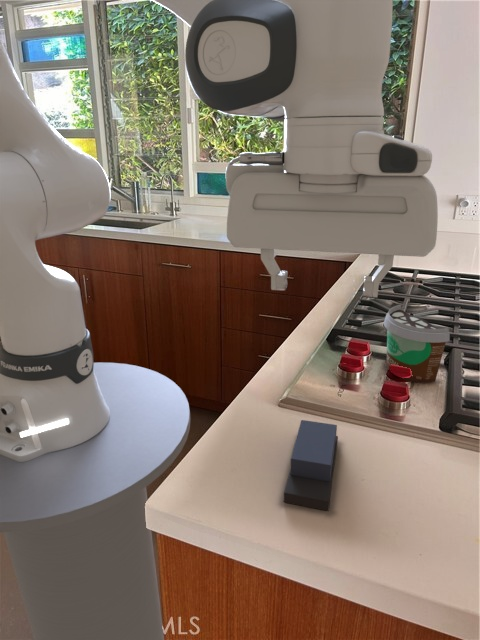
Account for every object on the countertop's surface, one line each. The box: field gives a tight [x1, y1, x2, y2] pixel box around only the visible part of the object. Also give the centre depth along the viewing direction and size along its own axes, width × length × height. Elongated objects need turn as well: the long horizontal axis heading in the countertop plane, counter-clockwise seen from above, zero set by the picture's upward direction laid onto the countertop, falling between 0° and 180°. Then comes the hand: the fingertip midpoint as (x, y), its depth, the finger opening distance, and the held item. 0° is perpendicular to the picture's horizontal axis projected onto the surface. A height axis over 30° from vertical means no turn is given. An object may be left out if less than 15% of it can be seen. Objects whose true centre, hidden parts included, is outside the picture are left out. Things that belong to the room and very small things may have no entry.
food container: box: [383, 304, 451, 384], centre depth 77 cm, size 12×6×10 cm, turn 21°
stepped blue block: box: [283, 419, 339, 511], centre depth 56 cm, size 12×5×4 cm, turn 164°
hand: (323, 292), depth 48 cm, fingers open, 8 cm apart
